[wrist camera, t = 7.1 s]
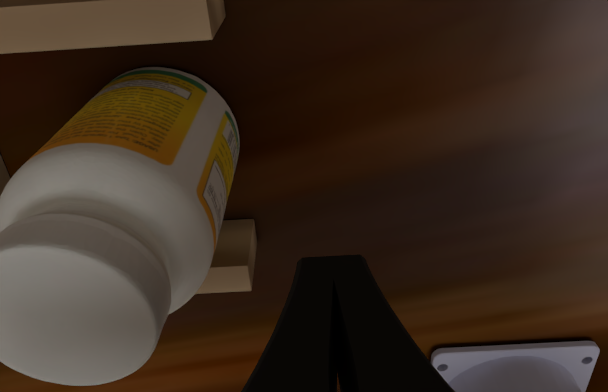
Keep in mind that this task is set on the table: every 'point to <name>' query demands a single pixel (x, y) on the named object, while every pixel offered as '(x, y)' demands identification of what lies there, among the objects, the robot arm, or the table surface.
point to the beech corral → (119, 32)
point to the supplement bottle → (113, 227)
